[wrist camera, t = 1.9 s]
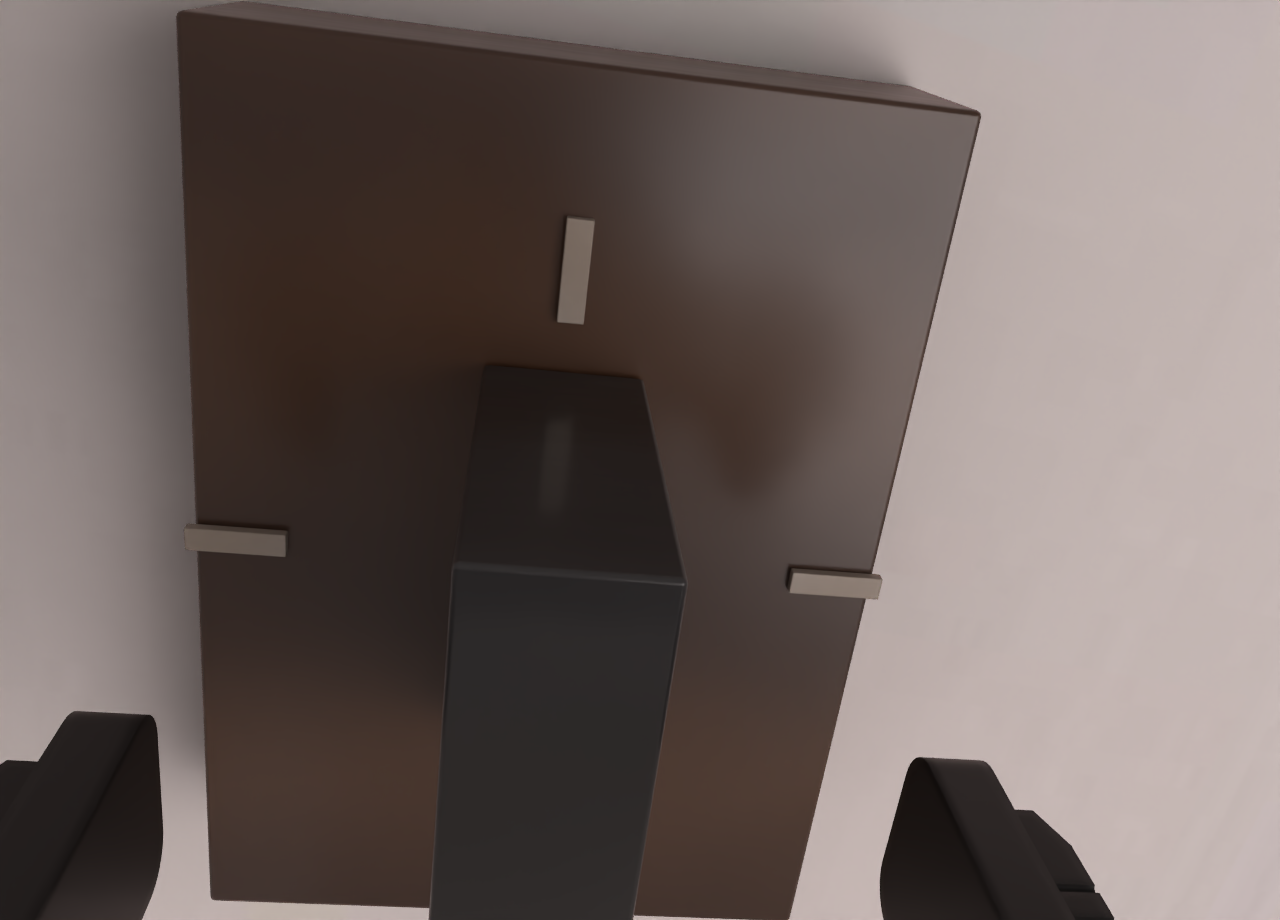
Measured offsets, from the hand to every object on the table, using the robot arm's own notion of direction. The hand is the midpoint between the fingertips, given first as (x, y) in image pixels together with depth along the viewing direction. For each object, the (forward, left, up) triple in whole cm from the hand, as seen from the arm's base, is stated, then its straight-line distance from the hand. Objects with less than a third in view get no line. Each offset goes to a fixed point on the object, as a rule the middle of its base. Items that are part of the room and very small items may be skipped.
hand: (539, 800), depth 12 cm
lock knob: (0, 0, -5) cm, 5 cm away
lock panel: (0, 0, -8) cm, 8 cm away
